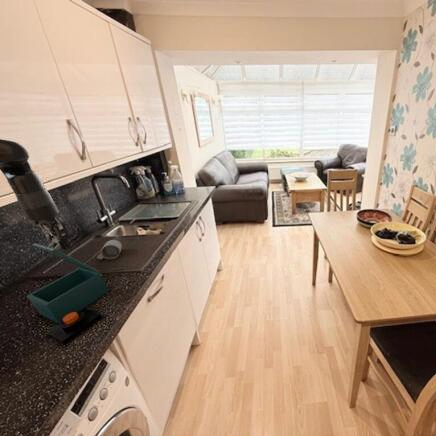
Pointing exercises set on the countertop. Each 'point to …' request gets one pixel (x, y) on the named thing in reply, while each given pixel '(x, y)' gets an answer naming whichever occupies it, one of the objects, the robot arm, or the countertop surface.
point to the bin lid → (64, 255)
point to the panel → (74, 326)
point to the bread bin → (68, 294)
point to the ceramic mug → (110, 250)
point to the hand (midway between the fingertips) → (62, 247)
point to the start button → (70, 318)
